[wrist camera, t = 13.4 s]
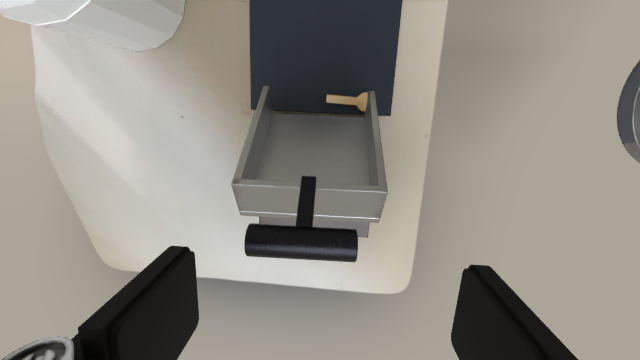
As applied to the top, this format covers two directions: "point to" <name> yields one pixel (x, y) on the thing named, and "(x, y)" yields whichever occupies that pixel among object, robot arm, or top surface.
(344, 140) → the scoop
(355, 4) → the mat
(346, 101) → the spoon
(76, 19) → the container
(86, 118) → the top surface
